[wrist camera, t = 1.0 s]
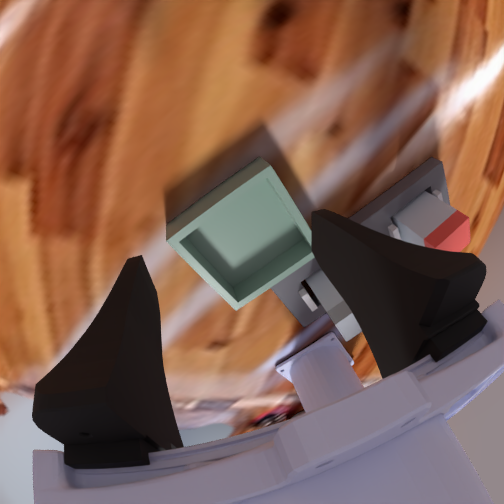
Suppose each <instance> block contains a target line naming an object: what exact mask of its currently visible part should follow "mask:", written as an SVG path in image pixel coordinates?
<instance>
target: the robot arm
mask: <svg viewBox="0 0 504 504" xmlns="http://www.w3.org/2000/svg"><path fill="white" fill-rule="evenodd" d="M311 251H312V253H313V255H314V257H315V259H316V261H317V262H318V264H319V266H320V268H321V269H322V271H323V272H324V274H325V275H326V276H327V278H328V279H329V280H330V282H331V283H332V284H333V286H334V287H335V289H336V290H337V291H338V293H339V294H340V295H341V297H342V298H343V299H344V301H345V302H346V304H347V305H348V307H349V308H350V310H351V311H352V313H353V315H354V317H355V319H356V320H357V322H358V324H359V326H360V328H361V330H362V332H363V334H364V336H365V338H366V340H367V342H368V344H369V346H370V349H371V351H372V353H373V355H374V358H375V360H376V362H377V365H378V368H379V370H380V373H381V375H382V378H383V379H382V380H380V381H378V382H376V383H374V384H372V385H370V386H368V387H365V388H364V387H363V385H362V383H361V381H360V380H359V378H358V376H357V375H356V373H355V371H354V370H353V368H352V365H353V364H354V361H353V359H352V358H351V357H350V355H349V354H348V352H347V351H346V350H345V348H344V347H343V345H342V344H341V343H340V341H339V340H338V338H337V337H336V336H335V334H334V333H333V332H330V333H328V334H327V335H325V336H324V337H322V338H321V339H319V340H318V341H316V342H315V343H313V344H312V345H310V346H308V347H307V348H305V349H304V350H302V351H300V352H299V353H297V354H296V355H294V356H292V357H291V358H289V359H287V360H286V361H284V362H282V363H281V364H279V365H277V366H276V368H275V369H276V371H277V372H278V373H280V374H281V375H282V376H284V377H285V378H286V379H288V380H289V381H290V382H292V383H293V385H294V387H295V389H296V392H297V394H298V396H299V399H300V401H301V403H302V406H303V408H304V410H305V412H306V413H305V414H303V415H300V416H298V417H295V418H292V419H289V420H286V421H283V422H280V423H277V424H274V425H271V426H268V427H264V428H261V429H258V430H254V431H251V432H247V433H244V434H240V435H236V436H233V437H229V438H225V439H220V440H216V441H212V442H207V443H203V444H198V445H194V446H189V447H184V446H183V443H182V440H181V437H180V434H179V430H178V427H177V423H176V420H175V416H174V412H173V409H172V405H171V401H170V396H169V392H168V388H167V383H166V378H165V373H164V367H163V358H162V341H161V320H160V309H159V302H158V296H157V291H156V289H155V286H154V284H153V282H152V279H151V277H150V274H149V272H148V270H147V267H146V265H145V262H144V260H143V257H142V255H140V256H136V257H132V258H129V259H127V261H126V263H125V265H124V267H123V269H122V270H121V272H120V274H119V276H118V278H117V280H116V282H115V284H114V286H113V288H112V290H111V292H110V294H109V295H108V297H107V299H106V301H105V302H104V304H103V306H102V308H101V309H100V311H99V313H98V314H97V316H96V317H95V319H94V320H93V322H92V323H91V325H90V326H89V327H88V329H87V330H86V332H85V333H84V334H83V335H82V337H81V338H80V339H79V340H78V342H77V343H76V344H75V345H74V347H73V348H72V349H71V350H70V351H69V353H68V354H67V355H66V356H65V357H64V358H63V359H62V360H61V361H60V362H59V363H58V364H57V365H56V366H55V367H54V368H53V369H52V370H51V371H50V372H49V373H48V374H47V375H46V376H45V377H43V378H42V379H41V380H40V381H39V382H38V383H37V384H36V387H35V394H34V402H33V412H32V418H33V421H34V422H35V424H36V425H37V426H38V428H40V429H41V430H42V431H43V432H45V433H47V434H48V435H50V436H51V437H53V438H55V439H56V440H58V441H59V442H61V443H62V444H64V452H61V451H57V450H33V488H34V489H33V490H34V504H494V503H493V501H492V499H491V497H490V495H489V494H488V492H487V490H486V488H485V486H484V484H483V482H482V481H481V479H480V477H479V475H478V473H477V472H476V470H475V468H474V466H473V465H472V463H471V461H470V459H469V458H468V456H467V455H466V453H465V451H464V449H463V448H462V446H461V444H460V443H459V441H458V439H457V438H456V436H455V434H454V433H453V431H452V430H451V428H450V427H449V425H448V423H447V420H448V419H450V418H451V417H452V416H453V415H455V414H456V413H457V412H459V411H460V410H461V409H462V408H463V407H465V406H466V405H467V404H468V403H469V402H470V401H472V400H473V399H474V398H475V397H476V396H478V395H479V393H481V392H482V391H483V390H484V389H485V388H486V387H488V386H489V385H490V384H491V383H492V382H493V381H494V380H495V379H496V378H497V377H498V376H499V375H500V374H502V372H504V304H503V303H502V302H501V301H500V300H497V301H495V302H494V303H493V304H492V305H490V306H489V307H487V308H486V309H485V310H484V311H483V313H482V314H481V313H480V312H479V311H478V310H477V309H478V307H479V303H478V302H477V301H476V300H475V298H476V296H477V294H478V292H479V290H480V288H481V286H482V284H483V281H484V279H485V276H486V265H485V264H484V263H483V262H482V261H481V260H480V259H479V258H477V257H476V256H475V255H474V254H472V253H463V252H452V251H445V250H439V249H434V248H429V247H424V246H420V245H416V244H412V243H409V242H405V241H402V240H399V239H396V238H393V237H390V236H387V235H385V234H382V233H380V232H377V231H375V230H372V229H370V228H368V227H365V226H363V225H361V224H359V223H356V222H354V221H352V220H350V219H347V218H345V217H343V216H341V215H339V214H336V213H334V212H331V211H329V210H326V209H322V210H318V211H313V212H312V232H311Z"/></svg>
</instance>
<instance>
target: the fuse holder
mask: <svg viewBox="0 0 504 504" xmlns="http://www.w3.org/2000/svg"><path fill="white" fill-rule="evenodd" d="M424 191H426V192H428V193H430V194H432V195H433V196H435V197H437V198H438V199H440V200H442V201H443V202H445V203H447V204H448V205H450V202H449V195H448V189H447V184H446V178H445V173H444V168H443V164H442V161H439V160H437V159H435V158H432V157H431V158H430V159H428V160H427V161H426V162H424V163H423V164H422V165H420V166H419V167H418V168H416V169H415V170H414V171H412V172H411V173H410V174H408V175H407V176H406V177H404V178H403V179H402V180H400V181H399V182H398V183H396V184H395V185H394V186H392V187H391V188H390V189H388V190H387V191H386V192H384V193H383V194H381V195H380V196H379V197H377V198H376V199H375V200H373V201H372V202H371V203H369V204H368V205H366V206H365V207H364V208H362V209H361V210H360V211H358V212H357V213H355V214H354V215H353V216H351V217H350V218H348V219H350V220H352V221H354V222H356V223H359V224H361V225H363V226H365V227H368V228H370V229H372V230H375V231H377V232H380V233H382V234H385V235H387V236H390V237H393V238H396V239H399V240H401V238H400V234H399V231H398V228H397V227H396V226H395V225H393V224H392V221H391V218H390V217H391V216H393V215H394V214H395V213H397V212H398V211H399V210H401V209H402V208H403V207H404V206H406V205H407V204H408V203H410V202H411V201H412V200H413V199H415V198H416V197H417V196H419V195H420V194H421V193H422V192H424ZM319 269H320V266H319V264H318V262H317V261H316V259H315V258H313V259H312V260H310V261H309V262H307V263H306V264H304V265H303V266H302V267H300V268H299V269H297V270H296V271H294V272H293V273H291V274H290V275H289V276H287V277H286V278H284V279H283V280H281V281H280V282H278V283H277V284H275V285H274V286H272V287H271V289H272V290H273V291H274V293H275V294H276V295H277V296H278V297H279V298H280V300H281V301H282V302H283V303H284V304H285V306H286V307H287V308H288V309H289V310H290V311H291V313H292V314H293V315H294V316H295V317H296V319H297V320H298V321H299V322H300V323H301V324H302V326H303V327H306V326H307V325H309V324H310V323H312V322H313V321H315V320H316V319H318V318H319V317H321V316H322V315H324V314H325V313H327V312H326V310H325V309H324V307H323V306H322V304H321V303H320V301H319V300H318V298H317V297H316V295H314V296H313V297H311V296H310V295H309V293H308V292H307V290H306V289H305V288H304V286H303V285H302V283H301V282H302V281H303V280H305V279H306V278H307V277H309V276H310V275H312V274H313V273H315V272H316V271H317V270H319Z"/></svg>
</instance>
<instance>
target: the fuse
mask: <svg viewBox="0 0 504 504" xmlns="http://www.w3.org/2000/svg"><path fill="white" fill-rule="evenodd" d="M305 280H306V282H307V283H308V285H309V286H310V288H311V289H312V291H313V292H314V294H315V295H316V297H317V298H318V300H319V301H320V303H321V304H322V306H323V307H324V309H325V310H326V312H327V314H328V315H329V317H330V318H331V320H332V321H333V323H334V324H335V326H336V327H337V329H338V330H339V332H340V333H341V335H342V336H343V338H344V339H345V341H346V342H347V341H349V340H350V339H352V338H353V337H355V336H356V335H357V334H359V333H360V332H362V330H361V328H360V326H359V324H358V322H357V320H356V319H355V317H354V315H353V313H352V311H351V310H350V308H349V307H348V305H347V304H346V302H345V301H344V299H343V298H342V297H341V295H340V294H339V293H338V291H337V290H336V289H335V287H334V286H333V284H332V283H331V282H330V280H329V279H328V278H327V276H326V275H325V274H324V272H323V271H322V269H321V268H320V269H319V270H317V271H316V272H315V273H313V274H312V275H310V276H309V277H307V278H306V279H305Z"/></svg>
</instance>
